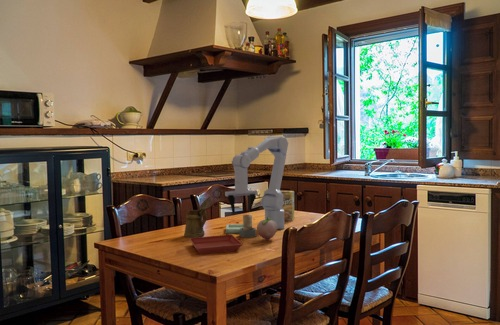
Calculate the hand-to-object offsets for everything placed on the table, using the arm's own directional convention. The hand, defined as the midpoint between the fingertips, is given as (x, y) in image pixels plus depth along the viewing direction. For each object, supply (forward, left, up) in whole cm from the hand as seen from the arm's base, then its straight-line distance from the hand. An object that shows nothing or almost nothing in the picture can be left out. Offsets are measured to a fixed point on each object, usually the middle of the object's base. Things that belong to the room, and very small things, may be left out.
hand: (241, 211), depth 205 cm
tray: (+2, -8, -10) cm, 13 cm away
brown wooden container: (+19, +2, -11) cm, 22 cm away
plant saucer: (+10, +24, -11) cm, 29 cm away
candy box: (-23, -35, -11) cm, 43 cm away
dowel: (-3, +3, -10) cm, 11 cm away
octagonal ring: (-3, +3, -10) cm, 11 cm away
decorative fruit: (-11, +12, -11) cm, 19 cm away
